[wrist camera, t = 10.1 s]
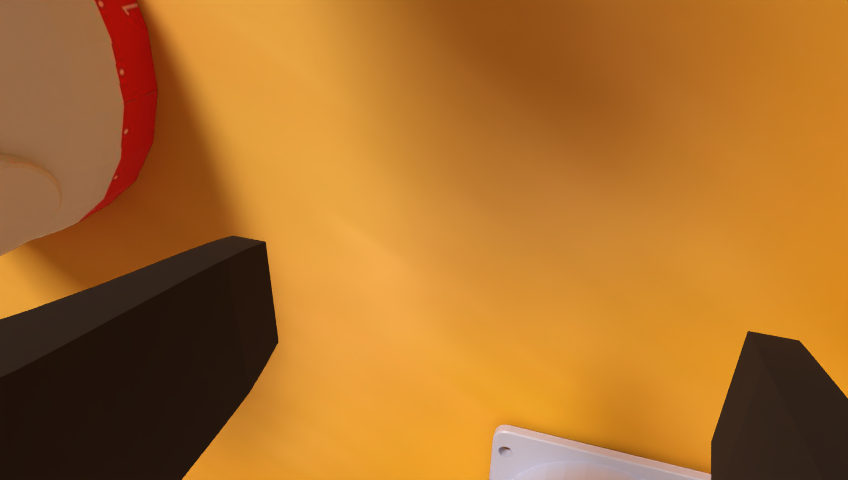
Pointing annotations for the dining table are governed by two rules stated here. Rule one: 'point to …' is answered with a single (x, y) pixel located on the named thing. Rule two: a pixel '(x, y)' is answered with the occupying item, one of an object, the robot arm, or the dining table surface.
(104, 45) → the kitchen timer
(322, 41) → the dining table surface
